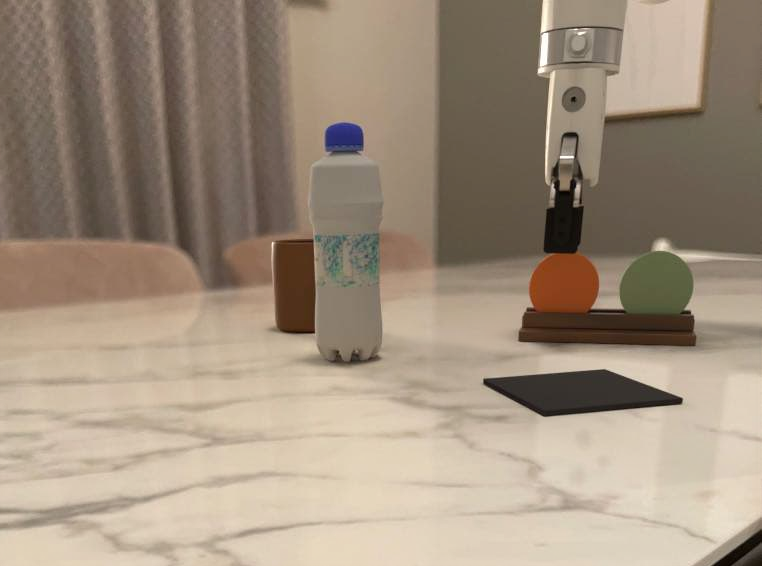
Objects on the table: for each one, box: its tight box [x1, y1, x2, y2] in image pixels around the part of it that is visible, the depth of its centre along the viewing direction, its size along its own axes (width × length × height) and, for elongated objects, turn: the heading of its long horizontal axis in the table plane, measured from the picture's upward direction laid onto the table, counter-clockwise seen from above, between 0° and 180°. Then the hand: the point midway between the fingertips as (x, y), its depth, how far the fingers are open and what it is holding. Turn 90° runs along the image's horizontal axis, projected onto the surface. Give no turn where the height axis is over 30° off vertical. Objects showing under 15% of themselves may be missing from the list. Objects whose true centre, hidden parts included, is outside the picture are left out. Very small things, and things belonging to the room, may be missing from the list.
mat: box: [482, 368, 684, 417], centre depth 65 cm, size 11×11×1 cm
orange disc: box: [528, 251, 600, 313], centre depth 87 cm, size 2×7×7 cm, turn 75°
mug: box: [271, 238, 316, 333], centre depth 95 cm, size 12×8×9 cm, turn 81°
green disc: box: [618, 250, 695, 314], centre depth 85 cm, size 2×7×7 cm, turn 75°
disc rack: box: [517, 306, 697, 347], centre depth 88 cm, size 9×17×2 cm, turn 75°
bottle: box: [307, 121, 384, 363], centre depth 76 cm, size 7×7×20 cm
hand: (562, 249), depth 86 cm, fingers open, 9 cm apart
